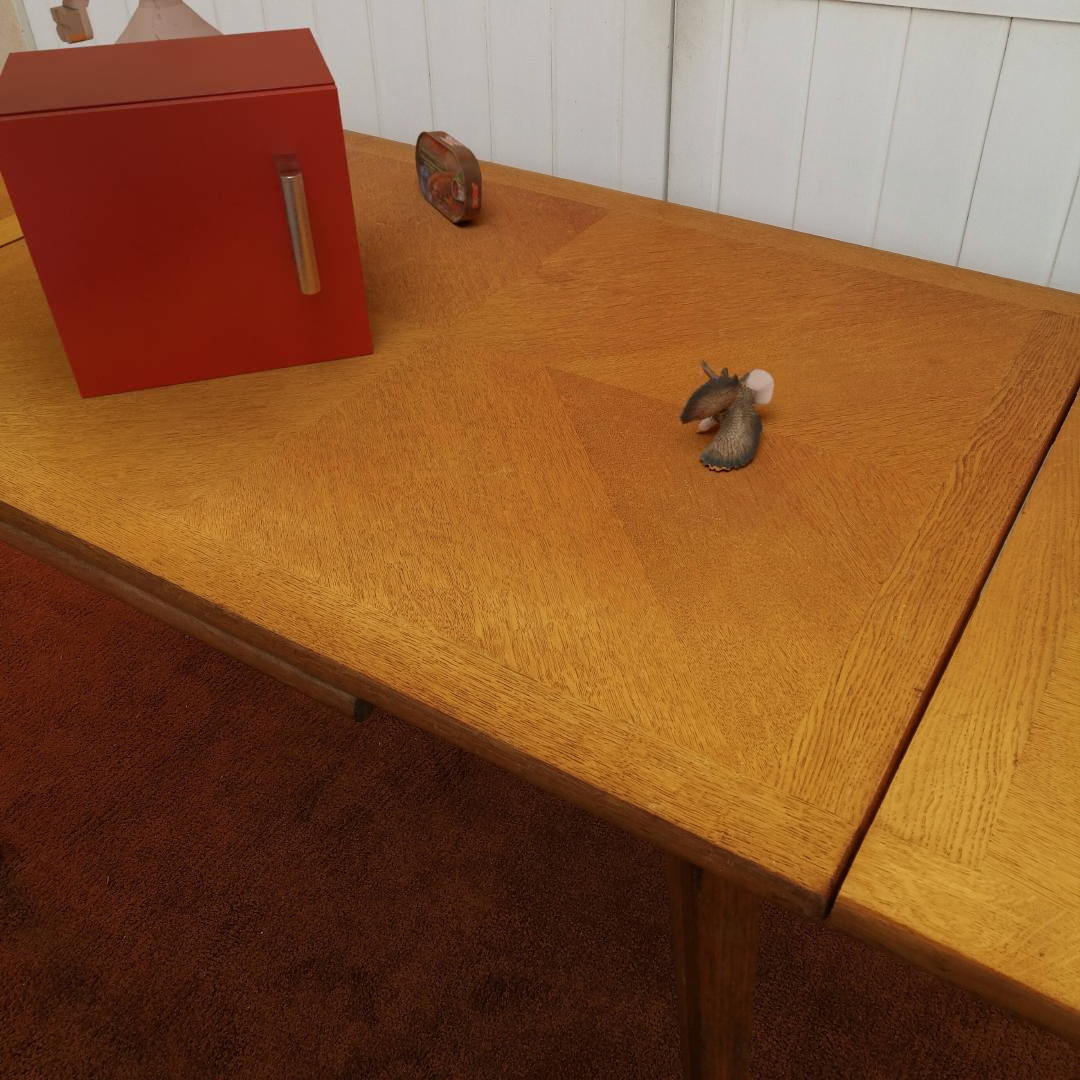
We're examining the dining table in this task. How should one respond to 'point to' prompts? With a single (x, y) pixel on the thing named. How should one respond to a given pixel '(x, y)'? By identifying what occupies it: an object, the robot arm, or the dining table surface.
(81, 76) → the red cabinet
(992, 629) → the dining table surface
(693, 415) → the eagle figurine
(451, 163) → the tin
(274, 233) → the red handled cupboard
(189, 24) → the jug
